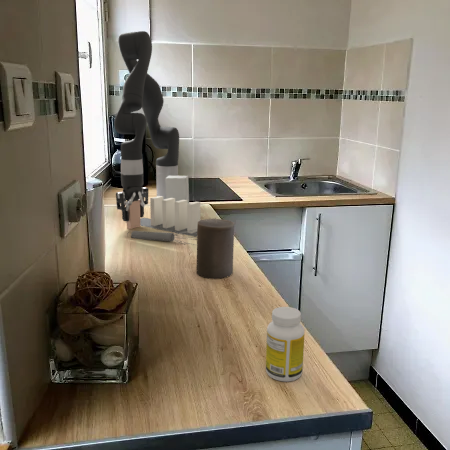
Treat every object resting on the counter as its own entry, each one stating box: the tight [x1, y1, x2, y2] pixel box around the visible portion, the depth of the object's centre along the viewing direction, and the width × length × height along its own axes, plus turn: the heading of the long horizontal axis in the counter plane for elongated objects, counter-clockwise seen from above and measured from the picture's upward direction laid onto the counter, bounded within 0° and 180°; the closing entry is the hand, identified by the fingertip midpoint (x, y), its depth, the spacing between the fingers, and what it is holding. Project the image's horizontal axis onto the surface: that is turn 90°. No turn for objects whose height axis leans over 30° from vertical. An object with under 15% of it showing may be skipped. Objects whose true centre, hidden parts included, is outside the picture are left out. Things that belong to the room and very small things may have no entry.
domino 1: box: [126, 200, 142, 230], centre depth 170 cm, size 5×2×10 cm, turn 147°
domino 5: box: [187, 201, 201, 233], centre depth 166 cm, size 5×2×10 cm, turn 147°
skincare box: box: [165, 175, 190, 204], centre depth 190 cm, size 8×7×16 cm
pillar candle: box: [196, 217, 235, 279], centre depth 127 cm, size 10×10×15 cm
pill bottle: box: [265, 306, 305, 382], centre depth 80 cm, size 6×6×11 cm
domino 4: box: [175, 200, 188, 231], centre depth 169 cm, size 5×2×10 cm, turn 147°
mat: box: [125, 217, 197, 237], centre depth 173 cm, size 10×32×1 cm, turn 57°
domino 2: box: [149, 195, 163, 226], centre depth 175 cm, size 5×2×10 cm, turn 147°
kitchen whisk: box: [126, 229, 197, 246], centre depth 154 cm, size 6×34×6 cm, turn 69°
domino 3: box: [162, 198, 175, 228], centre depth 172 cm, size 5×2×10 cm, turn 147°
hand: (133, 219), depth 171 cm, fingers open, 7 cm apart
